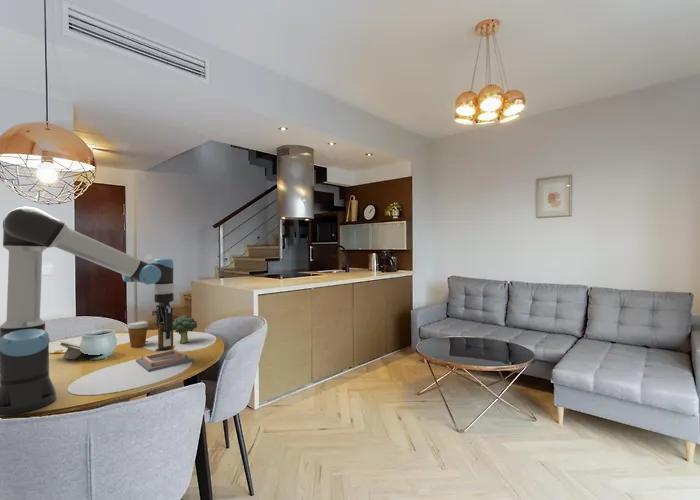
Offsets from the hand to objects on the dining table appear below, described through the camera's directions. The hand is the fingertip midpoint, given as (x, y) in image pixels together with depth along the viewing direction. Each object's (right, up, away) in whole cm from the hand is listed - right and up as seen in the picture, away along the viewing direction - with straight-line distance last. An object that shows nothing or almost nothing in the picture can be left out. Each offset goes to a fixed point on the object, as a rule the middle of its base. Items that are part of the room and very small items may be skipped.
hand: (164, 344), depth 154 cm
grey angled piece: (-43, -8, +7) cm, 44 cm away
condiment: (+1, -2, 0) cm, 2 cm away
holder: (0, -8, 0) cm, 8 cm away
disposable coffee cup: (-27, -8, +24) cm, 37 cm away
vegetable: (-6, -8, +30) cm, 32 cm away
